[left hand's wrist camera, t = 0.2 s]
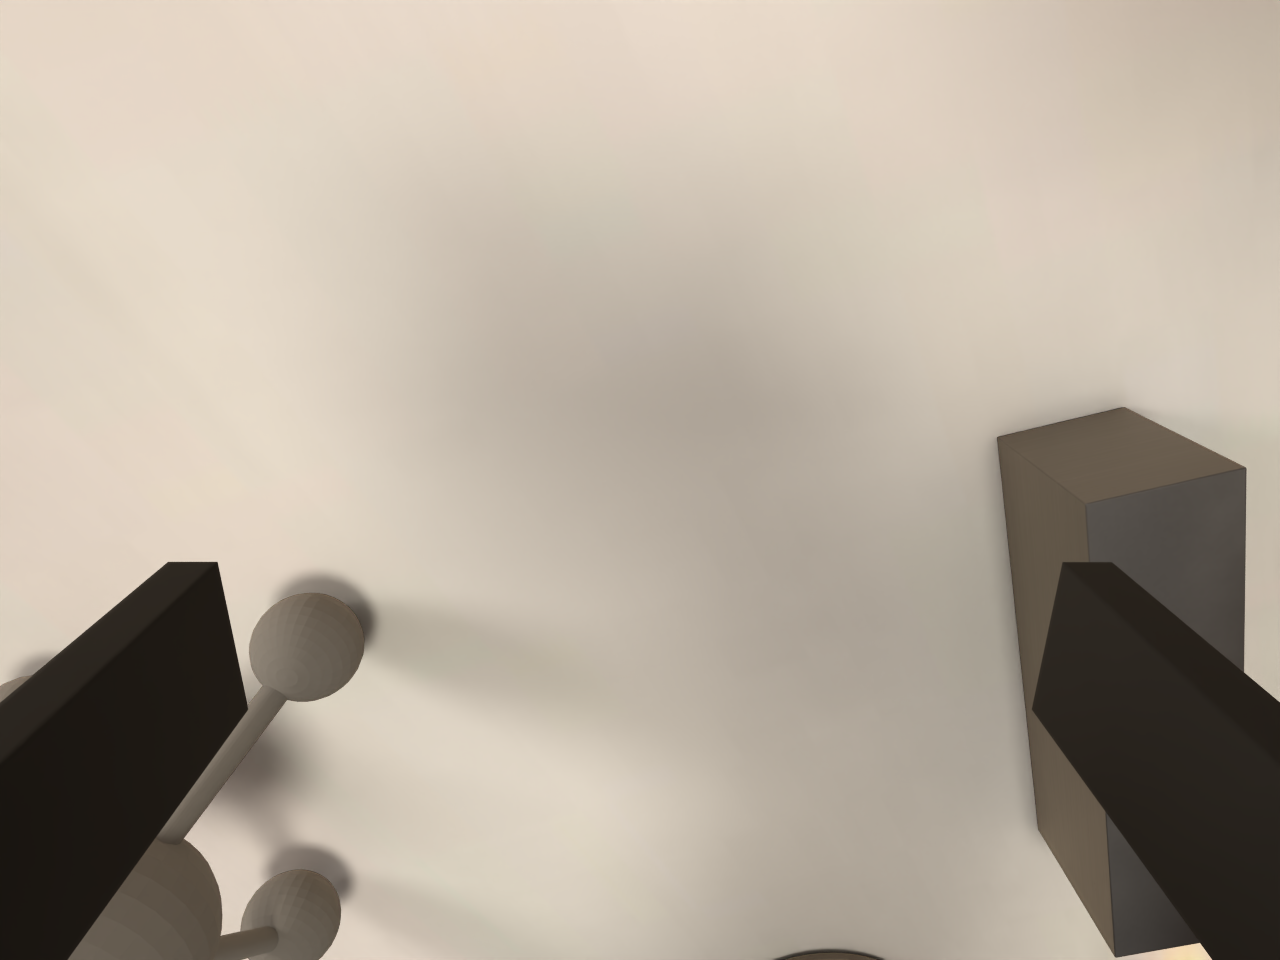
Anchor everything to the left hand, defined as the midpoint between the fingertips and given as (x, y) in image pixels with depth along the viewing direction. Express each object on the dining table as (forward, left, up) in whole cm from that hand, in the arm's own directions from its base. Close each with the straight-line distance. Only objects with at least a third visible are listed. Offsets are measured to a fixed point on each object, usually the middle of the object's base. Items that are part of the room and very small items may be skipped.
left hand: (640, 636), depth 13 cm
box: (-17, -24, -28) cm, 41 cm away
